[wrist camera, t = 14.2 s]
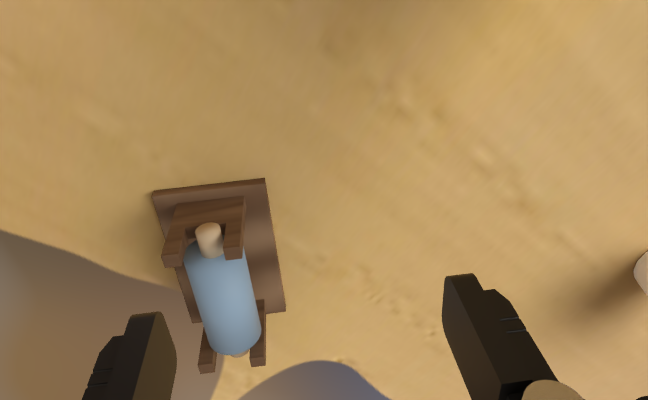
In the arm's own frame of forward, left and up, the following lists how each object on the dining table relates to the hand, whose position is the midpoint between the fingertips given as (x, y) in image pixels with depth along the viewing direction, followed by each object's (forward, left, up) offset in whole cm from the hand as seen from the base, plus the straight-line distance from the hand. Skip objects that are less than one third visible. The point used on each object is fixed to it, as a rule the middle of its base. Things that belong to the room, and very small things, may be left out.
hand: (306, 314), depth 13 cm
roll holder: (+8, +19, -28) cm, 35 cm away
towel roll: (+9, +19, -24) cm, 32 cm away
